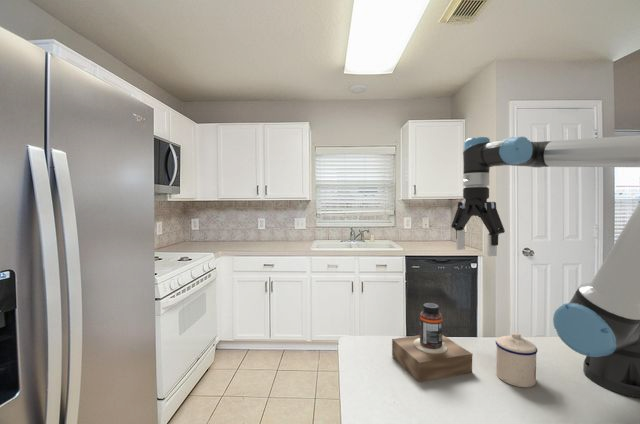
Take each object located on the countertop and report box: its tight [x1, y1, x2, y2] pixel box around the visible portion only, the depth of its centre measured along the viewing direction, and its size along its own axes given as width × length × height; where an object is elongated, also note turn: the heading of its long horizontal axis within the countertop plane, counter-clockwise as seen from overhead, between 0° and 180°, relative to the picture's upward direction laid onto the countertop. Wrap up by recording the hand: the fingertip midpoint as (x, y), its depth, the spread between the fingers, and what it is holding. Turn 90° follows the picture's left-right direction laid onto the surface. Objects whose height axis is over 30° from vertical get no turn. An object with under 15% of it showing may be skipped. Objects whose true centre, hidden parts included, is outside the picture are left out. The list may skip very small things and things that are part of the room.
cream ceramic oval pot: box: [495, 332, 538, 388], centre depth 82 cm, size 12×9×12 cm
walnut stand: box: [391, 334, 473, 383], centre depth 88 cm, size 14×16×5 cm
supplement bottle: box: [419, 302, 443, 349], centre depth 88 cm, size 6×6×11 cm
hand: (475, 252), depth 102 cm, fingers open, 13 cm apart
